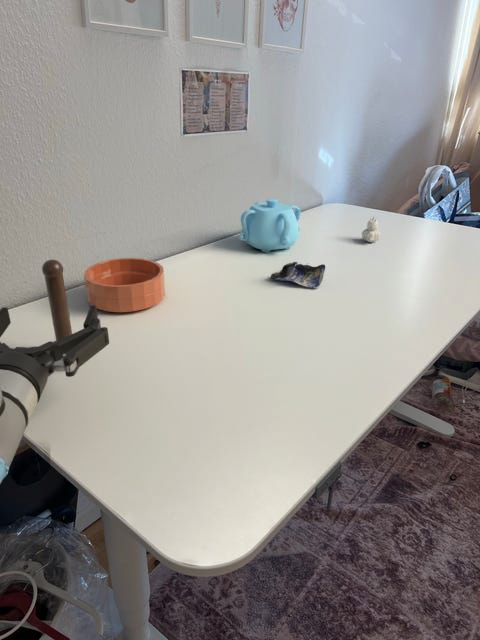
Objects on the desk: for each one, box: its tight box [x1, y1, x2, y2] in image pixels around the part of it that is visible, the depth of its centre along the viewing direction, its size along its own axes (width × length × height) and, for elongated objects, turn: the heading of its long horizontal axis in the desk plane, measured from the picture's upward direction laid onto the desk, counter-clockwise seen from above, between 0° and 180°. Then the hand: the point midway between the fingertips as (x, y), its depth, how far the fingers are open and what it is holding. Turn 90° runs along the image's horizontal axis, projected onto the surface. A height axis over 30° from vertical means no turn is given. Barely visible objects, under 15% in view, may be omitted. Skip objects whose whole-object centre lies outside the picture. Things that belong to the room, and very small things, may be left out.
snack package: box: [270, 261, 326, 290], centre depth 116 cm, size 12×6×12 cm
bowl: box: [83, 257, 166, 313], centre depth 104 cm, size 17×17×6 cm
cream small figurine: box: [361, 215, 381, 243], centre depth 143 cm, size 5×7×8 cm
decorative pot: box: [238, 198, 301, 253], centre depth 137 cm, size 16×16×14 cm
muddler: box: [41, 259, 73, 355], centre depth 81 cm, size 6×6×18 cm
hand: (51, 313), depth 76 cm, fingers open, 13 cm apart
